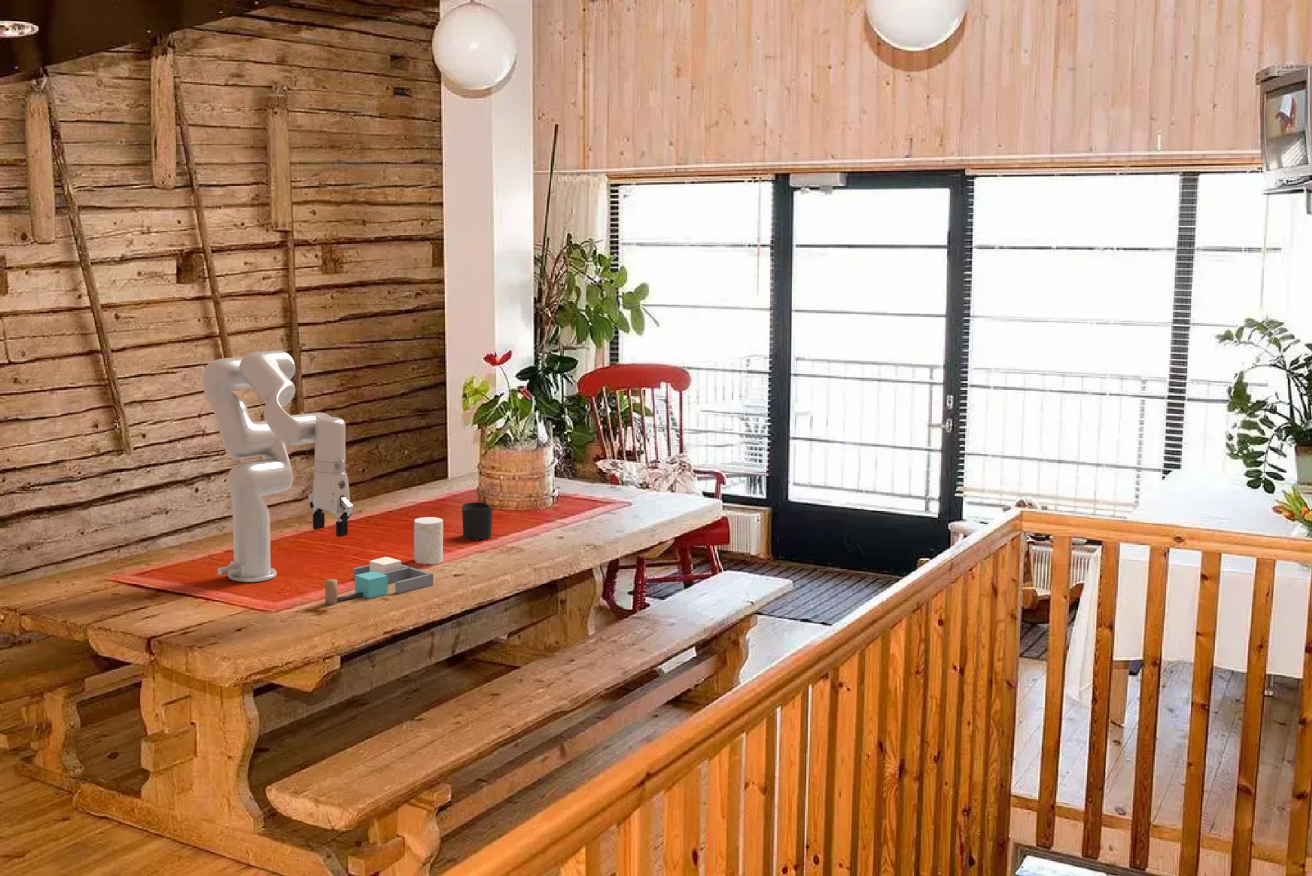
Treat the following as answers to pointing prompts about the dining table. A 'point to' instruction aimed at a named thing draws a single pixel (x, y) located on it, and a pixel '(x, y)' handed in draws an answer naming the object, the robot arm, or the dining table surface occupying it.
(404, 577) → the lane rack
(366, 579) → the teal block with handle
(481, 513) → the pen holder
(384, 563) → the off-white block
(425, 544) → the cup
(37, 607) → the dining table surface
